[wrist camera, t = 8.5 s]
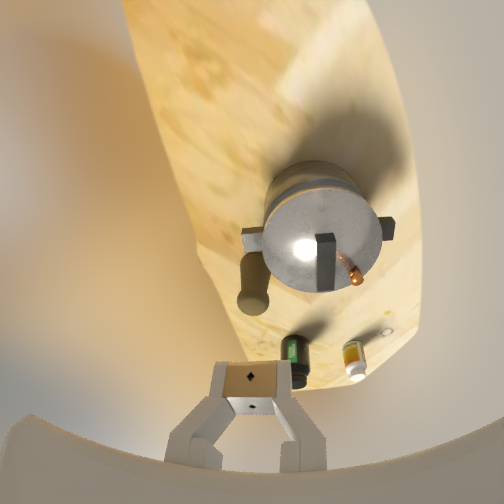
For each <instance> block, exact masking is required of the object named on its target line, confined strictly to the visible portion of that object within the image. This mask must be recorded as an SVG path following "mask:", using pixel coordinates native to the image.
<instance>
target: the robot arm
mask: <svg viewBox="0 0 504 504" xmlns="http://www.w3.org/2000/svg"><path fill="white" fill-rule="evenodd" d="M254 414H255V415H257V414H258V415H276V416H277V418H278V419H279V421H280V423H281V424H282V426H283V427H284V429H285V431H286V432H287V434H288V435H289V437H290V438H291V440H292V441H287V442H284V443H282V444H281V457H280V473H253V472H235V471H223V470H221V469H222V459H223V455H222V454H221V452H219V451H218V450H217V449H216V448H215V447H214V446H213V445H214V443H215V442H216V441H217V440H218V438H219V437H220V436H221V435H222V433H223V432H224V431H225V429H226V428H227V427H228V425H229V424H230V423H231V421H232V420H233V419H234V417H235V416H236V415H254ZM0 504H504V417H502V418H500V419H499V420H496V421H495V422H493V423H491V424H489V425H487V426H484V427H482V428H480V429H478V430H476V431H474V432H471V433H469V434H467V435H464V436H462V437H460V438H457V439H454V440H452V441H449V442H447V443H444V444H441V445H438V446H436V447H432V448H429V449H426V450H423V451H420V452H416V453H413V454H409V455H406V456H402V457H398V458H394V459H390V460H385V461H381V462H376V463H371V464H366V465H361V466H355V467H347V468H340V469H332V470H327V460H326V438H325V437H324V435H323V434H322V433H321V432H320V430H319V429H318V428H317V426H316V425H315V424H314V423H313V421H312V420H311V419H310V417H309V416H308V415H307V413H306V412H305V411H304V409H303V408H302V407H301V405H300V404H299V403H298V401H297V400H296V399H295V397H292V375H291V361H290V360H278V361H277V360H274V361H255V362H216V363H215V365H214V370H213V376H212V381H211V387H210V393H209V397H205V398H204V399H203V400H202V401H201V402H200V403H199V404H198V405H197V406H196V407H195V408H194V409H193V410H192V411H191V413H189V414H188V415H187V416H186V418H185V419H184V420H183V421H182V422H181V423H180V424H179V425H178V426H177V427H176V428H175V429H174V430H173V431H172V432H171V433H170V436H169V440H168V445H167V449H166V454H165V459H164V462H163V461H159V460H155V459H150V458H146V457H142V456H138V455H134V454H131V453H127V452H124V451H121V450H117V449H114V448H111V447H108V446H105V445H102V444H99V443H96V442H93V441H91V440H88V439H86V438H83V437H80V436H78V435H75V434H73V433H71V432H68V431H66V430H64V429H62V428H59V427H57V426H55V425H53V424H51V423H48V422H47V421H45V420H43V419H41V418H39V417H37V416H35V415H32V414H29V415H27V416H25V417H23V418H22V419H20V420H19V421H18V422H16V423H15V424H14V425H13V426H12V427H11V428H10V430H9V431H8V433H7V435H6V437H5V440H4V442H3V445H2V447H1V450H0Z"/></svg>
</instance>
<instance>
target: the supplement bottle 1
mask: <svg viewBox="0 0 504 504" xmlns="http://www.w3.org/2000/svg"><path fill="white" fill-rule="evenodd" d="M281 360H290V361H291V375H292V389H301V388H303V387H305V386H306V384H307V381H306V380H307V376H308V374H309V373H310V357H309V344H308V341H307V339H305V338H304V337H302V336H289V337H287V338H285V339H284V340H283V341H282V342H281Z"/></svg>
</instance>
